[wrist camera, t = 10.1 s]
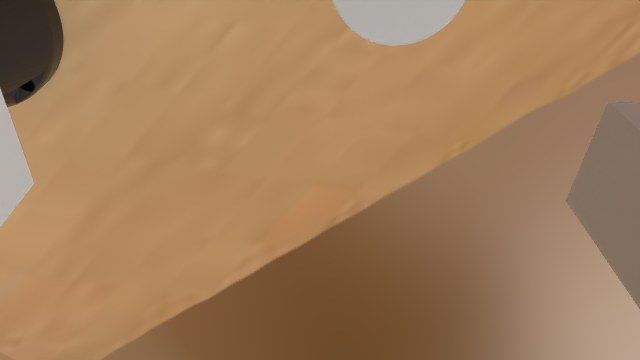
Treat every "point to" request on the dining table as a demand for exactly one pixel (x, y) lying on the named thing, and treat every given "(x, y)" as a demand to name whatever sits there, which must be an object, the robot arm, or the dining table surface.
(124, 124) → the dining table surface
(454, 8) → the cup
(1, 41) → the robot arm
